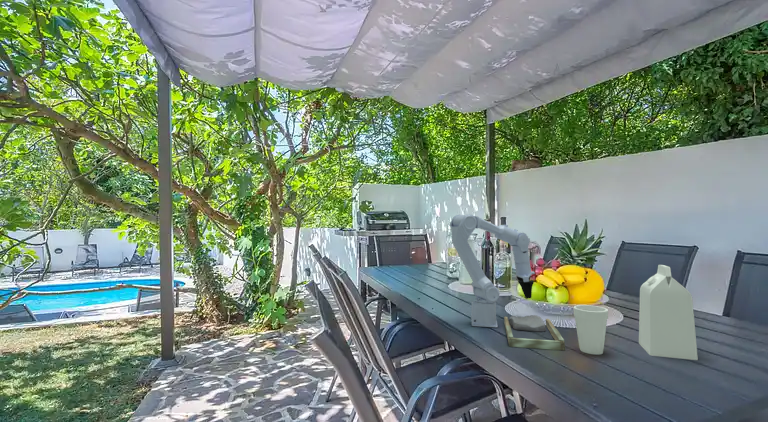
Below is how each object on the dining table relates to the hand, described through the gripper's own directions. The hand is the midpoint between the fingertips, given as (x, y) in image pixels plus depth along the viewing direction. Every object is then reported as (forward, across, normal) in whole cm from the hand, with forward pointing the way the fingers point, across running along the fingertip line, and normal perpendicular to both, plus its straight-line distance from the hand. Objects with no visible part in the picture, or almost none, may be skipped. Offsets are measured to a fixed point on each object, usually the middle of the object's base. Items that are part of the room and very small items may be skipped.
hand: (527, 295), depth 152 cm
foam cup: (+10, -33, -14) cm, 37 cm away
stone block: (+10, -12, +2) cm, 15 cm away
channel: (+8, -20, +2) cm, 22 cm away
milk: (+13, -28, -36) cm, 47 cm away
